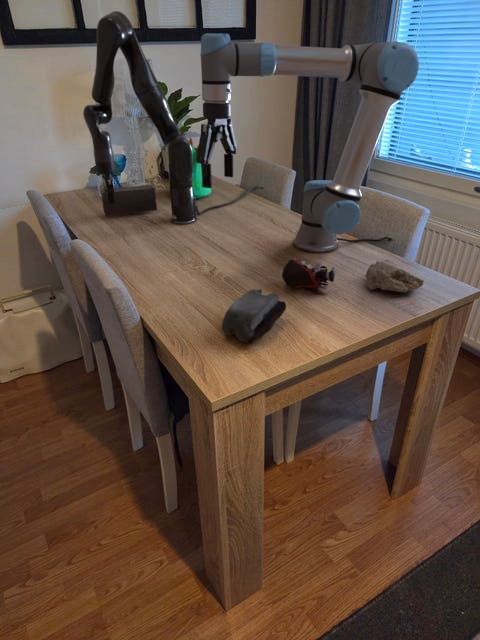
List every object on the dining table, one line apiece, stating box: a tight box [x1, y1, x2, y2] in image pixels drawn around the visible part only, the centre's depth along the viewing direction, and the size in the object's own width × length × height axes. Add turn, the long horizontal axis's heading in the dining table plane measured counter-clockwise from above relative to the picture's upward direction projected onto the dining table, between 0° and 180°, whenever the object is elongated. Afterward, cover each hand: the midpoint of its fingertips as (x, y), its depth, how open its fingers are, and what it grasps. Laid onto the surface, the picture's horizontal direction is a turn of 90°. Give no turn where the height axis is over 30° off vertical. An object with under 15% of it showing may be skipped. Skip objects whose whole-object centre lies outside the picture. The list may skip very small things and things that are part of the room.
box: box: [100, 184, 158, 217], centre depth 189 cm, size 22×6×10 cm, turn 111°
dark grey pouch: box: [221, 289, 287, 345], centre depth 112 cm, size 18×11×8 cm, turn 152°
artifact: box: [365, 259, 424, 293], centre depth 134 cm, size 18×8×15 cm
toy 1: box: [168, 137, 212, 200], centre depth 210 cm, size 20×20×25 cm
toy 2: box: [281, 258, 336, 295], centre depth 131 cm, size 12×9×15 cm
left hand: (110, 200), depth 186 cm, fingers closed on box, 6 cm apart
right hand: (218, 182), depth 130 cm, fingers open, 13 cm apart
